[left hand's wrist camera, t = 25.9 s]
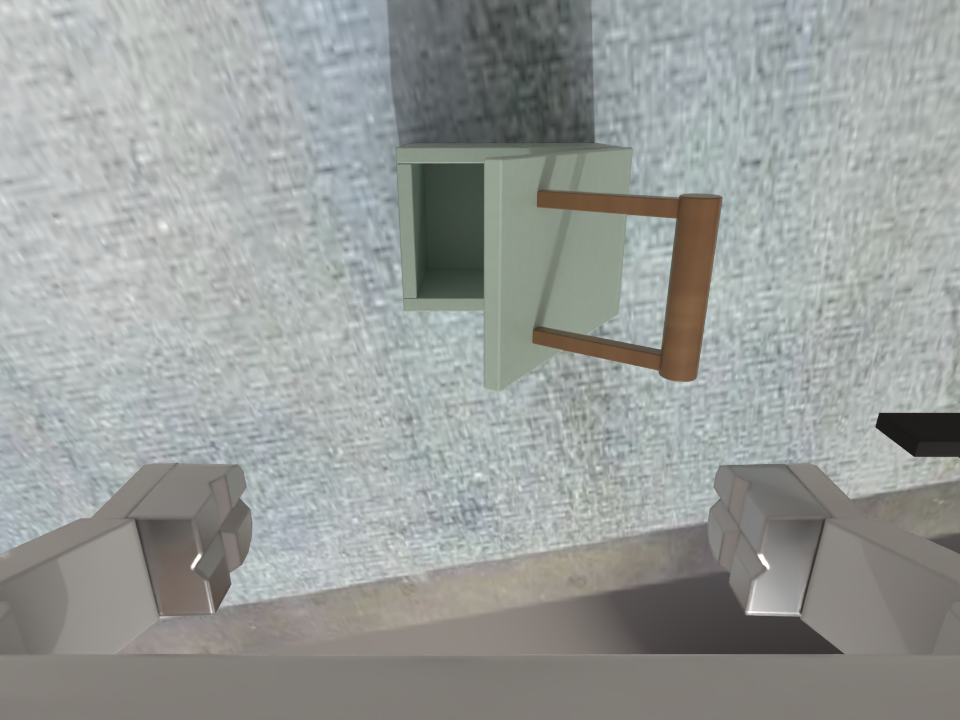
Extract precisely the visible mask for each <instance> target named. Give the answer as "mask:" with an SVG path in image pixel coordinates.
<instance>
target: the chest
mask: <svg viewBox="0 0 960 720" xmlns="http://www.w3.org/2000/svg"><path fill="white" fill-rule="evenodd" d="M618 147H619V146H613V145H606V144H599V143H412V144H408V145H404V146H400V147H397V148H396V162H397V163H398V164H397V184H398V204H399V224H400V244H401V264H402V284H403V297H404V298H403V305H404V311H484V159H485V158H488V157H501V156H514V155H527V154H540V153H553V152H566V151H579V150H592V149H605V148H618Z"/></svg>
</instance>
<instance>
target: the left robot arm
mask: <svg viewBox="0 0 960 720" xmlns="http://www.w3.org/2000/svg"><path fill="white" fill-rule="evenodd" d="M245 489H246V482H245V477H244V472H243V470H242V469H241V467H240V466H239V465H234V464H183V463H181V464H178V463H152V464H147V465H144V466H143V467H142V468H141V469H140V470H139V471H138V472H137V473H136V474H135V475H134V476H133V477H132V478H131V479H130V480H129V481H128V482H127V483H126V484H125V485H124V486H123V487H122V488H121V489H120V490H119V491H118V492H117V493H116V494H115V495H114V496H113V497H112V498H111V499H110V500H109V501H108V502H107V503H106V504H105V505H104V506H103V507H102V508H101V509H100V510H99V511H98V512H97V513H96V514H95V515H94V516H93V517H92V518H82V519H79V520H76V521H74V522H72V523H69V524H67V525H65V526H63V527H60V528H58V529H56V530H54V531H51V532H49V533H47V534H45V535H42V536H40V537H38V538H36V539H33V540H31V541H29V542H27V543H24V544H22V545H20V546H18V547H15V548H13V549H11V550H8V551H6V552H4V553H2V554H0V720H960V554H958V553H956V552H954V551H951V550H949V549H947V548H945V547H942V546H940V545H938V544H935V543H933V542H931V541H929V540H927V539H924V538H922V537H920V536H918V535H915V534H913V533H911V532H909V531H906V530H904V529H902V528H899V527H897V526H895V525H893V524H890V523H888V522H886V521H884V520H881V519H879V518H868V517H867V516H866V515H865V514H864V513H863V512H862V511H861V510H860V509H859V508H858V507H857V506H856V505H855V504H854V503H853V502H852V501H851V500H850V499H849V498H848V497H847V496H846V495H845V494H844V493H843V492H842V491H841V490H840V489H839V488H838V487H837V486H836V485H835V484H834V483H833V482H832V481H831V480H830V479H829V478H828V477H827V476H826V475H825V474H824V473H823V472H822V471H821V470H820V469H819V468H818V467H817V466H816V465H813V464H811V463H790V464H755V465H723V466H719V468H718V471H717V473H716V476H715V481H714V489H715V490H716V492H717V493H718V495H719V497H720V499H719V500H718V501H717V502H716V503H715V504H714V505H713V506H712V507H711V508H710V511H709V519H708V537H709V544H710V547H711V551H712V554H713V556H714V558H715V560H716V562H717V564H718V565H719V566H721V567H722V568H724V569H725V570H727V571H728V572H730V573H731V574H730V579H729V586H730V588H731V589H732V591H733V593H734V595H735V597H736V598H737V600H738V602H739V604H740V606H741V607H742V609H743V611H744V613H745V615H769V616H801V618H800V619H801V620H802V621H804V622H805V623H806V624H807V625H809V626H810V627H811V628H813V629H814V630H815V631H816V632H818V633H819V634H820V635H822V636H823V637H824V638H825V639H827V640H828V641H829V642H830V643H832V644H833V645H834V646H836V647H837V648H838V649H839V650H841V651H842V652H843V653H844V654H116V653H117V652H118V651H120V650H121V649H122V648H123V647H125V646H126V645H127V644H128V643H130V642H131V641H132V640H134V639H135V638H136V637H137V636H139V635H140V634H141V633H143V632H144V631H145V630H146V629H148V628H149V627H150V626H151V625H153V624H154V623H155V622H157V621H158V620H159V619H160V618H159V616H190V615H215V613H216V611H217V609H218V608H219V606H220V604H221V602H222V600H223V598H224V597H225V595H226V593H227V591H228V589H229V588H230V586H231V579H230V574H229V573H230V572H232V571H233V570H235V569H236V568H238V567H239V566H241V565H242V564H243V562H244V560H245V558H246V556H247V554H248V551H249V547H250V542H251V538H252V517H251V511H250V508H249V507H248V506H247V505H246V504H245V503H244V502H243V501H242V500H241V499H240V497H241V495H242V493H243V492H244V490H245Z"/></svg>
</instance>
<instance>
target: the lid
mask: <svg viewBox="0 0 960 720" xmlns="http://www.w3.org/2000/svg"><path fill="white" fill-rule="evenodd" d="M632 151H633V149H632V148H631V147H618V148H605V149H592V150H579V151H566V152H553V153H540V154H527V155H514V156H501V157H488V158H485V159H484V388H485V389H489V390H493V391H496V392H500V391H501V390H503V389H504V388H506V387H507V386H509V385H511V384H512V383H514V382H515V381H517V380H518V379H520V378H521V377H523V376H524V375H526V374H527V373H529V372H530V371H532V370H534V369H535V368H537V367H538V366H540V365H541V364H543V363H544V362H546V361H547V360H549V359H550V358H552V357H553V356H555V355H557V354H558V353H560V352H561V351H563V350H565V351H570V352H575V353H579V354H584V355H589V356H593V357H598V358H603V359H607V360H612V361H617V362H621V363H626V364H631V365H635V366H640V367H645V368H649V369H654V370H659V374H660V376H662V377H663V378H665V379H668V380H672V381H677V382H689V381H693V380H695V379H696V378H697V374H698V367H699V360H700V353H701V346H702V339H703V332H704V325H705V318H706V311H707V304H708V297H709V290H710V283H711V276H712V269H713V262H714V255H715V248H716V241H717V234H718V227H719V220H720V213H721V206H722V199H723V198H722V196H719V195H713V194H682V195H680V196H679V198H678V197H662V196H645V195H629V186H630V174H631V163H632ZM627 215H639V216H652V217H664V218H677V219H676V227H675V236H674V245H673V253H672V262H671V270H670V279H669V287H668V296H667V305H666V313H665V322H664V330H663V339H662V347H661V350H660V349H655V348H649V347H644V346H639V345H634V344H629V343H624V342H619V341H613V340H608V339H603V338H598V337H593V336H588V335H587V334H589V333H590V332H592V331H593V330H595V329H596V328H598V327H599V326H601V325H603V324H604V323H606V322H607V321H609V320H610V319H612V318H613V317H615V316H616V315H618V312H619V301H620V289H621V278H622V266H623V255H624V243H625V232H626V220H627Z"/></svg>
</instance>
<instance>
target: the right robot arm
mask: <svg viewBox="0 0 960 720" xmlns="http://www.w3.org/2000/svg"><path fill="white" fill-rule="evenodd" d="M876 428H877V429H878V430H880V431H881V432H882V433H884V434H885V435H886V436H888V437H889V438H890V439H891V440H893V441H894V442H895V443H897V444H898V445H899V446H901V447H902V448H903V449H905V450H906V451H907V452H909V453H910V454H911V455H913V456H914V457H959V458H960V413H879V416H878V419H877V423H876Z"/></svg>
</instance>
